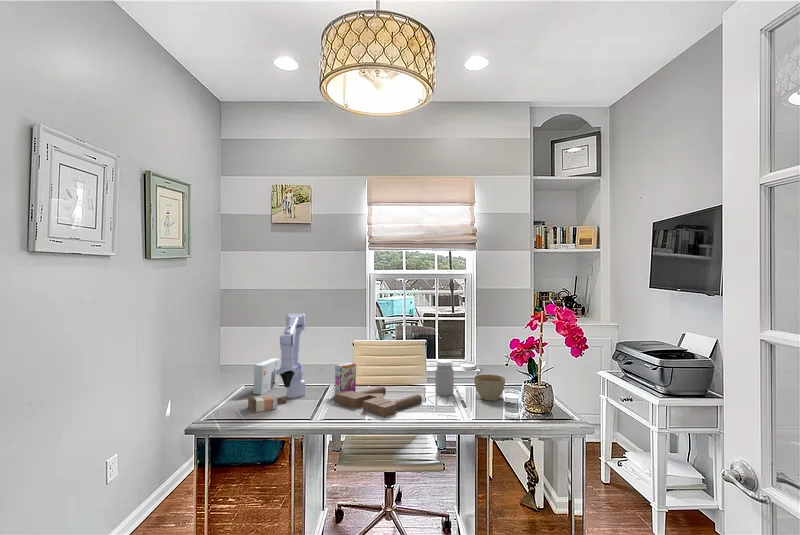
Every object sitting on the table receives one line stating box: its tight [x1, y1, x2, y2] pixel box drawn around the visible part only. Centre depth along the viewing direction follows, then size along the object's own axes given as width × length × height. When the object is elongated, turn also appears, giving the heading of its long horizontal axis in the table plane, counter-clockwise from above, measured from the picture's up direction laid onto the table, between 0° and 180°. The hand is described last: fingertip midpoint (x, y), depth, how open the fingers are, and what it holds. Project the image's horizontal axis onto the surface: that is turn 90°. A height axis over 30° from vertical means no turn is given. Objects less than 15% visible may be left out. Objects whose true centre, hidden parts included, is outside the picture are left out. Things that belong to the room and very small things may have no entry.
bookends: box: [334, 385, 423, 418], centre depth 233 cm, size 35×6×29 cm
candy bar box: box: [334, 362, 357, 395], centre depth 250 cm, size 11×5×16 cm, turn 139°
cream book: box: [254, 397, 265, 413], centre depth 219 cm, size 4×6×5 cm, turn 30°
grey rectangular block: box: [270, 395, 278, 410], centre depth 223 cm, size 2×6×4 cm, turn 30°
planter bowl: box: [473, 374, 506, 401], centre depth 244 cm, size 16×16×11 cm
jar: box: [434, 359, 455, 397], centre depth 251 cm, size 10×10×18 cm
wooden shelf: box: [247, 394, 287, 414], centre depth 223 cm, size 18×10×7 cm, turn 120°
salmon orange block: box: [260, 395, 274, 411], centre depth 222 cm, size 4×6×5 cm, turn 30°
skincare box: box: [252, 357, 281, 396], centre depth 260 cm, size 21×6×16 cm, turn 168°
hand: (287, 387), depth 226 cm, fingers closed
